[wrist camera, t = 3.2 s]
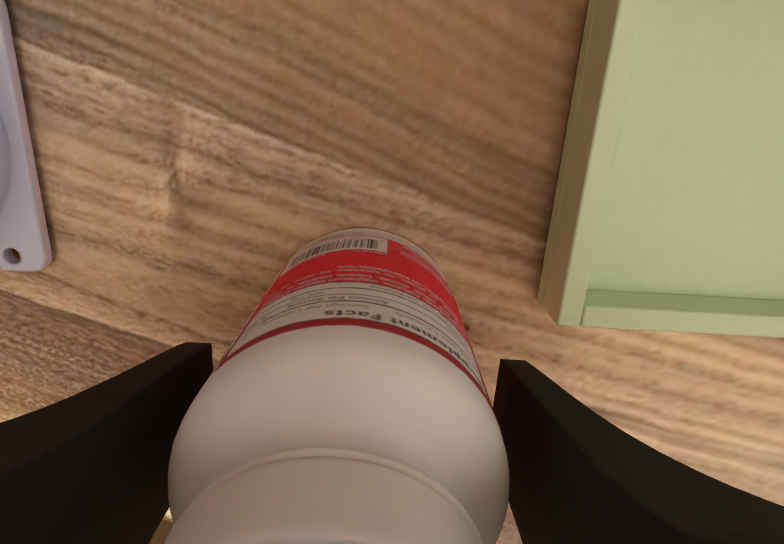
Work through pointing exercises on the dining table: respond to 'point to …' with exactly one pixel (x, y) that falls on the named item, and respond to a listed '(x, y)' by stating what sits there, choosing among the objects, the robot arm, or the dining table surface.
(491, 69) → the dining table surface
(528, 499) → the robot arm
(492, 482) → the pill bottle
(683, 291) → the shallow green square tray
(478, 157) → the dining table surface
